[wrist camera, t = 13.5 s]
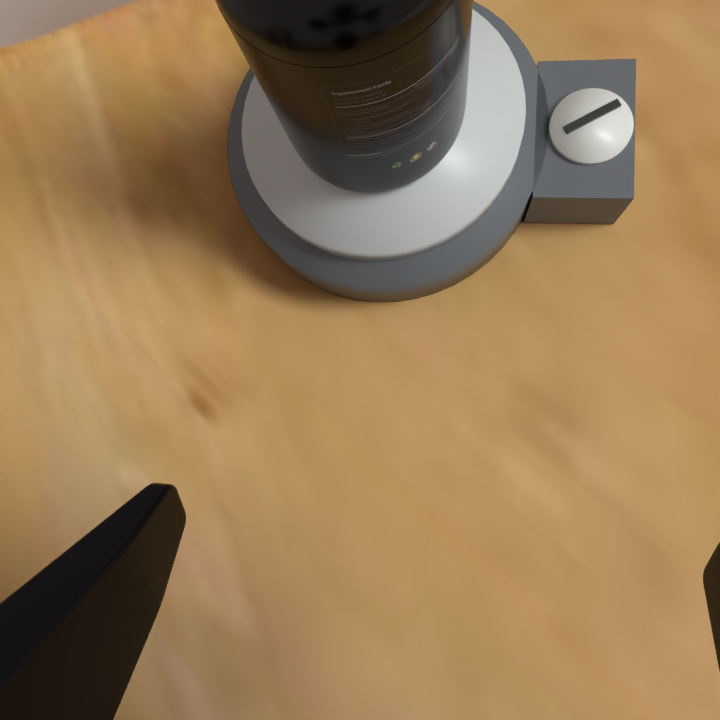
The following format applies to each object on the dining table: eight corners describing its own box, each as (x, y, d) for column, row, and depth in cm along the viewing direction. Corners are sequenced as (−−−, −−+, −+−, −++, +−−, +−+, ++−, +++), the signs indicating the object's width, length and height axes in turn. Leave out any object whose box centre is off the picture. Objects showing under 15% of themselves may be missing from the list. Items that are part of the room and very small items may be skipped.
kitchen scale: (611, 311, 23) (641, 288, 19) (233, 296, 25) (200, 273, 22) (617, 19, 24) (646, -51, 21) (262, 32, 27) (235, -28, 23)
